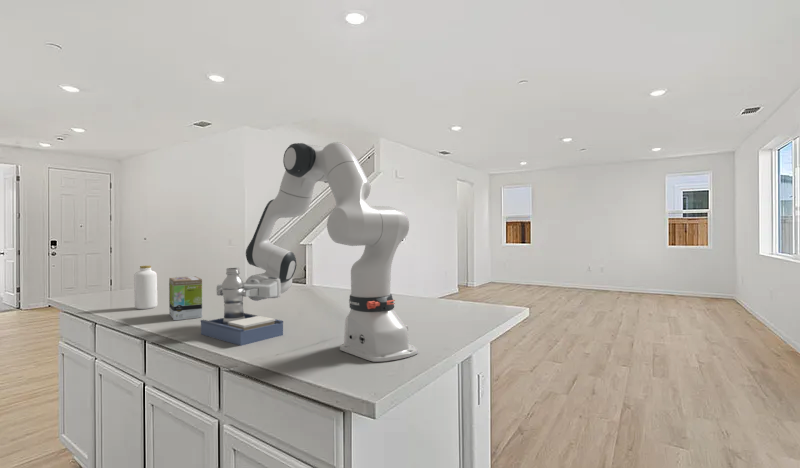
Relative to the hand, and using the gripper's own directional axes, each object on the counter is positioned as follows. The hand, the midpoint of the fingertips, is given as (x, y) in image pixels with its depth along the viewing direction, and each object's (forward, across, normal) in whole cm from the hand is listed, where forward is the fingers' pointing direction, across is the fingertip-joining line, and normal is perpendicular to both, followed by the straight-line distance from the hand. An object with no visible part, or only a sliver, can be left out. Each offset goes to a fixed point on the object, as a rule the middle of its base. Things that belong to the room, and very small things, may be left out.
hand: (231, 293), depth 129 cm
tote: (+1, +4, +13) cm, 14 cm away
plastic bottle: (-1, 0, +12) cm, 13 cm away
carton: (+3, +9, +12) cm, 16 cm away
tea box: (-21, -38, +13) cm, 46 cm away
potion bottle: (-31, -68, +13) cm, 76 cm away
